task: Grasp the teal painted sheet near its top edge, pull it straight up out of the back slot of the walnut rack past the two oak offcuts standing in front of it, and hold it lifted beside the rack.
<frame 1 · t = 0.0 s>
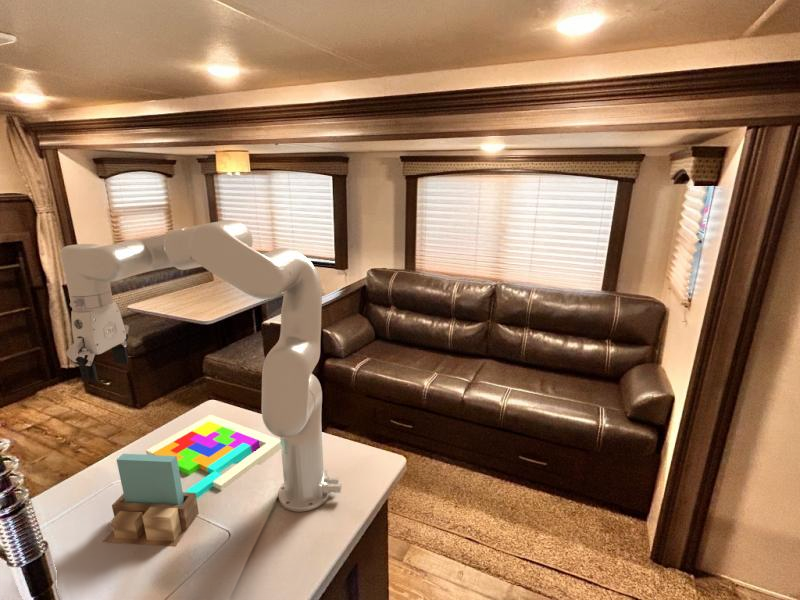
hand: (106, 371, 97), 31 cm above the kitchen counter, tool pointing down, fingers open, 9 cm apart
offcut short: (130, 533, 89), point 1 cm above the kitchen counter, touching rack
puzzle game: (202, 464, 114), on the kitchen counter
rack: (153, 530, 91), on the kitchen counter
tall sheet: (158, 519, 93), point 1 cm above the kitchen counter, touching rack
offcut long: (164, 535, 89), point 1 cm above the kitchen counter, touching rack
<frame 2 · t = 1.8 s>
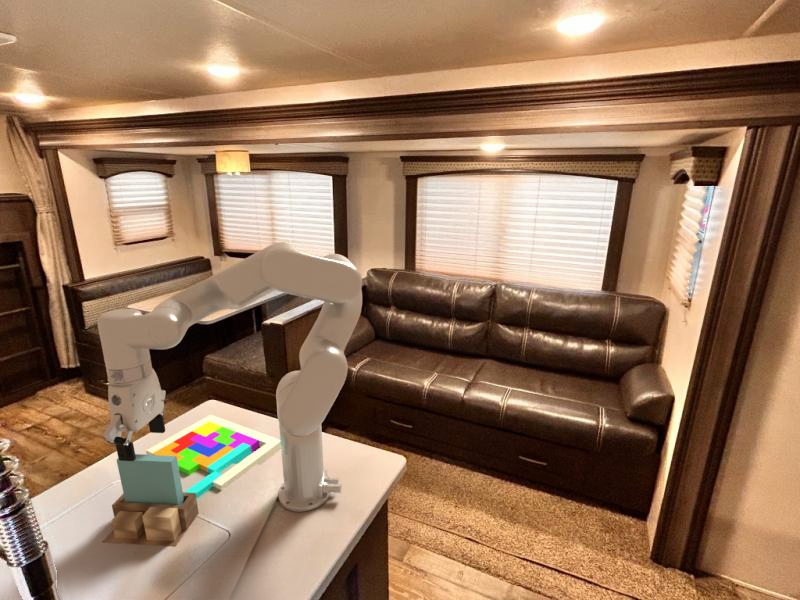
hand: (143, 445, 88), 20 cm above the kitchen counter, tool pointing down, fingers open, 9 cm apart
nothing on the kitchen counter moved.
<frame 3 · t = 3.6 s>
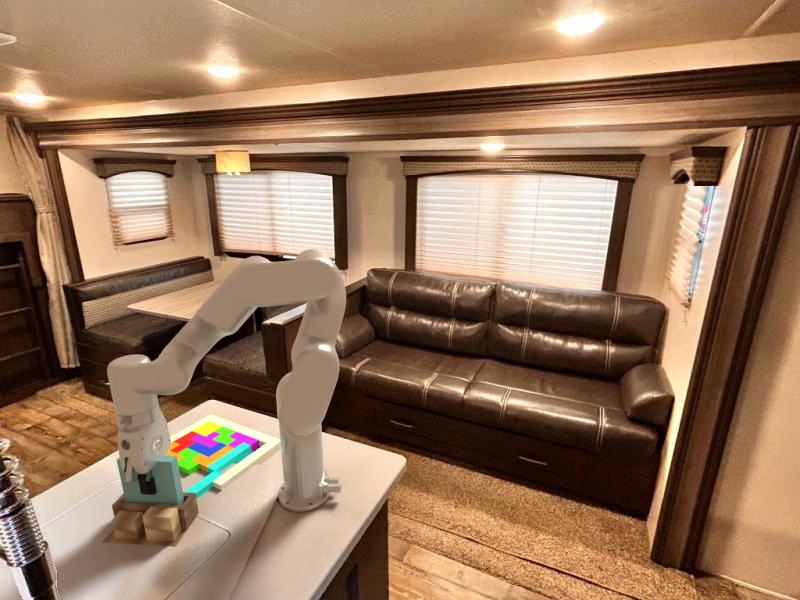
hand: (152, 488, 91), 9 cm above the kitchen counter, tool pointing down, fingers closed on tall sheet, 2 cm apart
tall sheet: (158, 519, 93), point 1 cm above the kitchen counter, touching gripper
everything else where it was.
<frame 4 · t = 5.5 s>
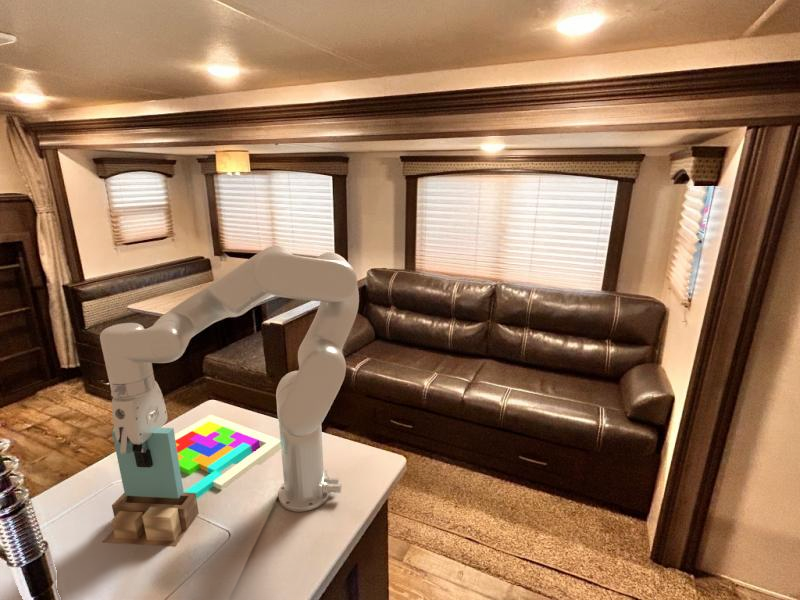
hand: (148, 461, 89), 16 cm above the kitchen counter, tool pointing down, fingers closed on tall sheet
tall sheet: (154, 493, 91), point 8 cm above the kitchen counter, touching gripper
everything else where it was.
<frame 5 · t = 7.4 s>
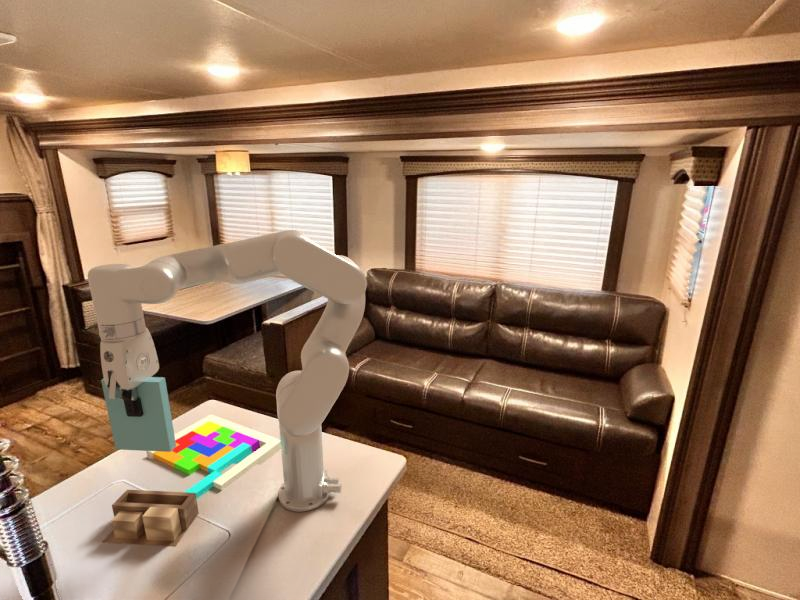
hand: (139, 411, 86), 28 cm above the kitchen counter, tool pointing down, fingers closed on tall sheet
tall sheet: (146, 447, 88), point 19 cm above the kitchen counter, touching gripper
everything else where it was.
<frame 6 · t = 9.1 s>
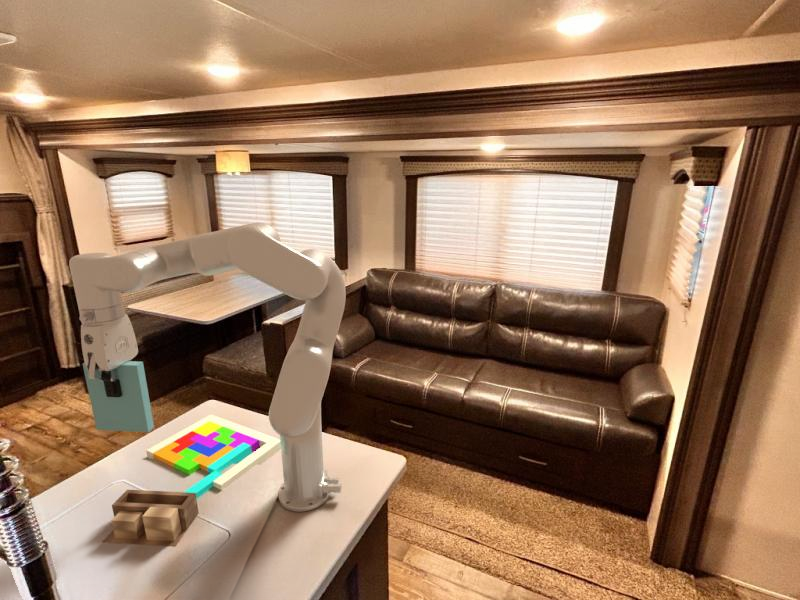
hand: (118, 393, 91), 29 cm above the kitchen counter, tool pointing down, fingers closed on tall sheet
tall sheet: (125, 428, 93), point 20 cm above the kitchen counter, touching gripper
everything else where it was.
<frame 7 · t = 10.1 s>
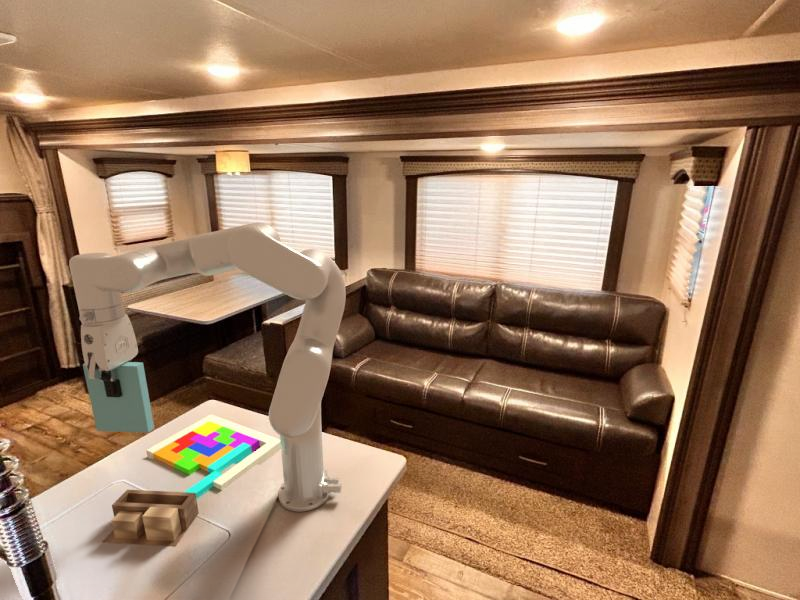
hand: (118, 393, 91), 29 cm above the kitchen counter, tool pointing down, fingers closed on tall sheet
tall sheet: (125, 429, 94), point 20 cm above the kitchen counter, touching gripper
everything else where it was.
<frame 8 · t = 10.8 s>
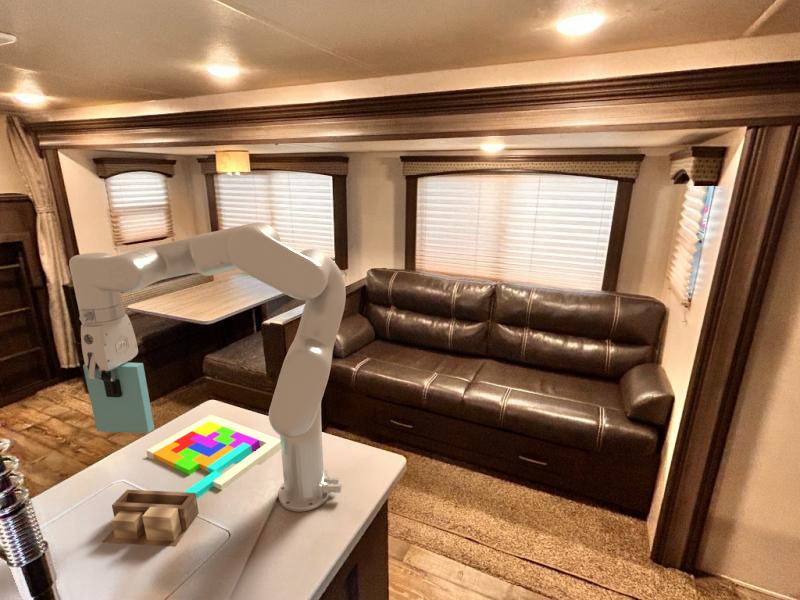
hand: (118, 393, 91), 29 cm above the kitchen counter, tool pointing down, fingers closed on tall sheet
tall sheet: (125, 429, 94), point 20 cm above the kitchen counter, touching gripper
everything else where it was.
at the end: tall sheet point 19.9 cm above the kitchen counter; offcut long moved 0.0 cm from its start; offcut short moved 0.0 cm from its start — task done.
